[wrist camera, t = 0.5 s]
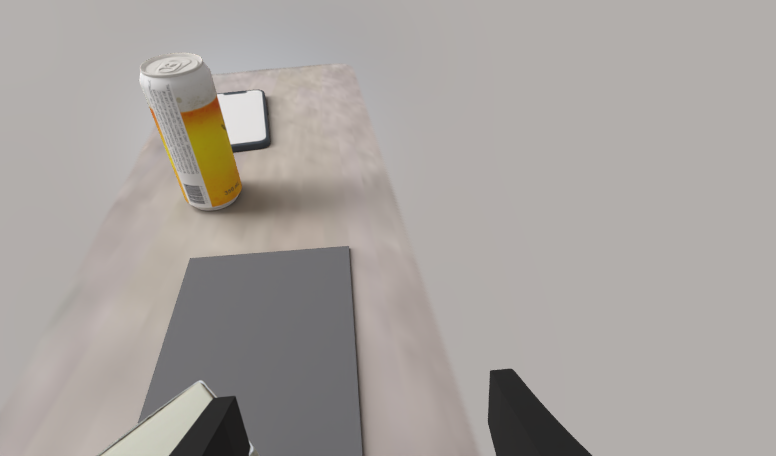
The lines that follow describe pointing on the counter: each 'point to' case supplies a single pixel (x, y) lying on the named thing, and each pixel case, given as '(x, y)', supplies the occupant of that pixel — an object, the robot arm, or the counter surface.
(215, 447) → the robot arm
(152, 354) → the counter surface
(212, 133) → the beer can
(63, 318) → the counter surface
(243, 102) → the phone case
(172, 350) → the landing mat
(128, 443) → the skincare box
